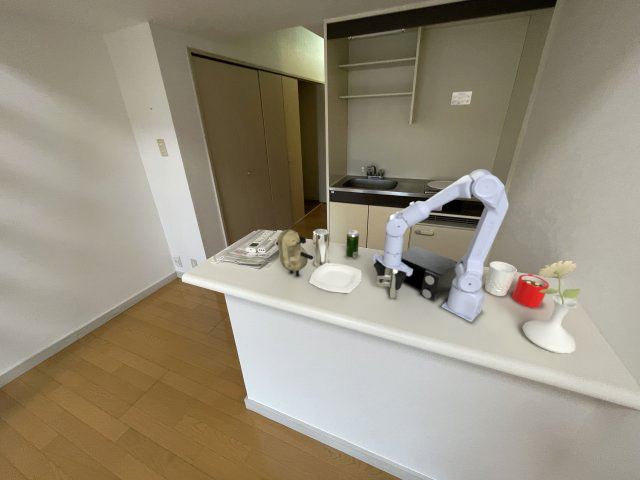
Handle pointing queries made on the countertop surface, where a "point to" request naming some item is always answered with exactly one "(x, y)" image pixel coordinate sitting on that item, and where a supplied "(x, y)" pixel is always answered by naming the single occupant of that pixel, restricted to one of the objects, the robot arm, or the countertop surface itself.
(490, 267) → the white cup
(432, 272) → the microwave
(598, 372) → the countertop surface
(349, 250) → the beer can
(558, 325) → the flower in vase
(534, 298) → the mug
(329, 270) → the plate
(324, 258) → the silver metal tumbler
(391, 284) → the microwave door
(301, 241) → the figurine
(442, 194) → the robot arm
